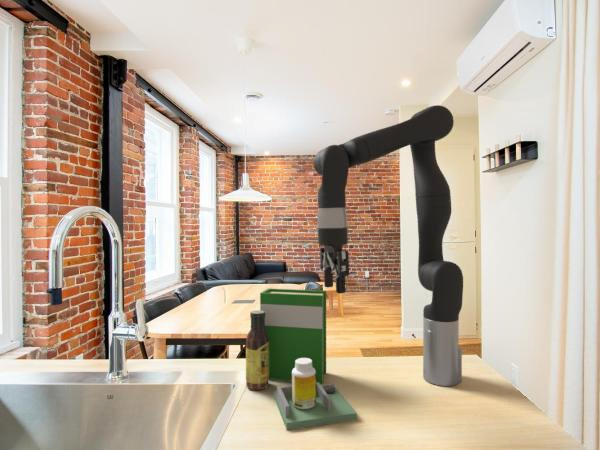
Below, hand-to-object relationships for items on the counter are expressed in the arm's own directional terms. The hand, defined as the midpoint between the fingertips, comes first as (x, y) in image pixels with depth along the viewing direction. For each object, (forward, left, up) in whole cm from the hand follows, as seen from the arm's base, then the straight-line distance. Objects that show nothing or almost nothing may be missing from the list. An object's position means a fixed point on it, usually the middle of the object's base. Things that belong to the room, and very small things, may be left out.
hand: (334, 289), depth 94 cm
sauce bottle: (+18, -10, -27) cm, 34 cm away
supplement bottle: (+10, +6, -25) cm, 28 cm away
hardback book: (+7, -14, -27) cm, 31 cm away
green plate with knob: (+7, +5, -27) cm, 28 cm away
